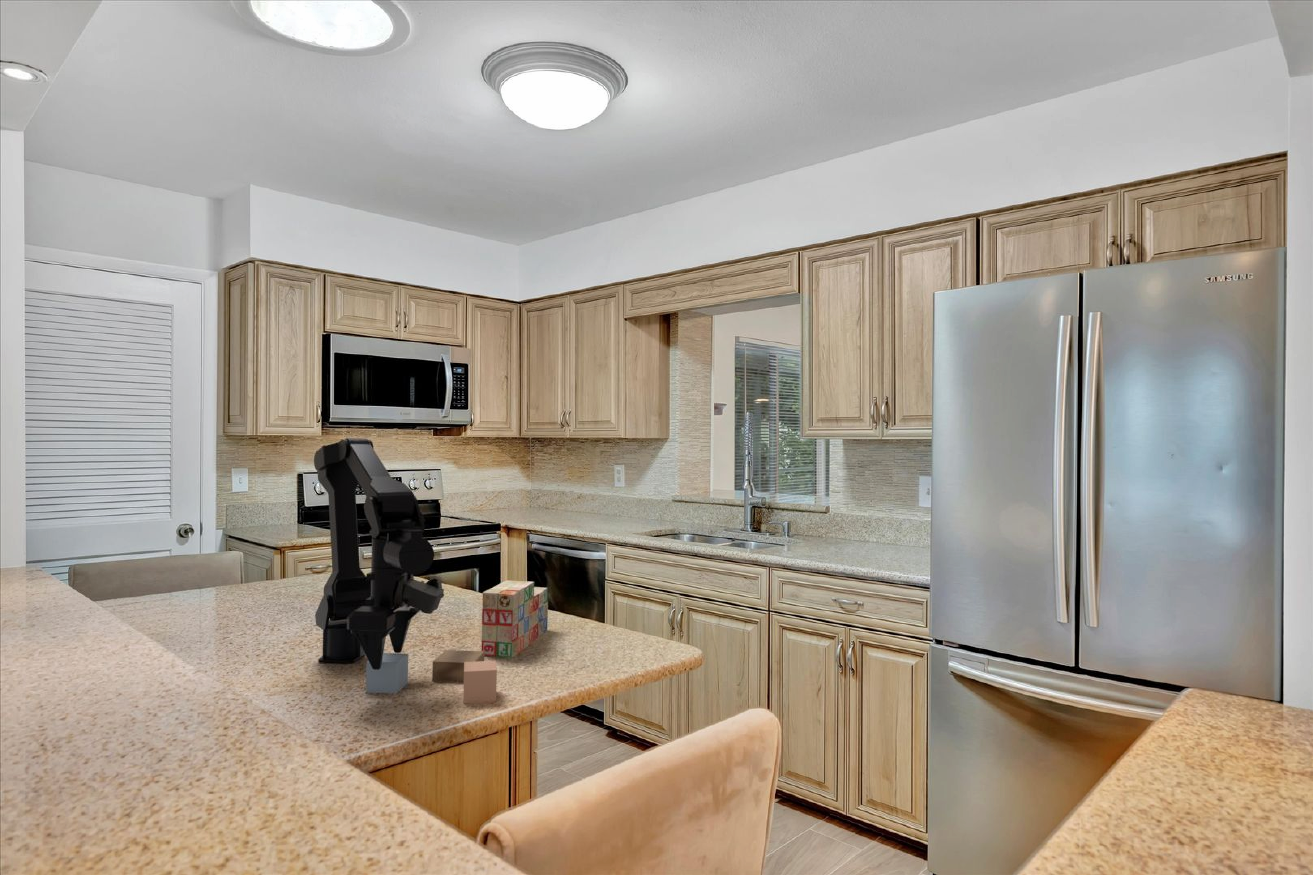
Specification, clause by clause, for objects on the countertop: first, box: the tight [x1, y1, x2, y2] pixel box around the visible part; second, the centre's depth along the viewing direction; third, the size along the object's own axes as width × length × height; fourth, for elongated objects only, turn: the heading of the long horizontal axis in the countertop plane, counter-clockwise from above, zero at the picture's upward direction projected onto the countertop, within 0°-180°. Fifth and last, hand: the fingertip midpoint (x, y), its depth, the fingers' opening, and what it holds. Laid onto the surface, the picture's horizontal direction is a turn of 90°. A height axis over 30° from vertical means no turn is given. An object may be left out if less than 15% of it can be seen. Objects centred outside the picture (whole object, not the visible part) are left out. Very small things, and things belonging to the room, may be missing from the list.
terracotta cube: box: [462, 660, 498, 704], centre depth 120 cm, size 5×5×5 cm
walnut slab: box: [431, 649, 485, 683], centre depth 131 cm, size 7×7×4 cm
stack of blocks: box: [480, 580, 549, 659], centre depth 152 cm, size 21×6×12 cm, turn 170°
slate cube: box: [365, 652, 409, 694], centre depth 123 cm, size 5×5×5 cm
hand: (387, 660), depth 123 cm, fingers open, 9 cm apart
